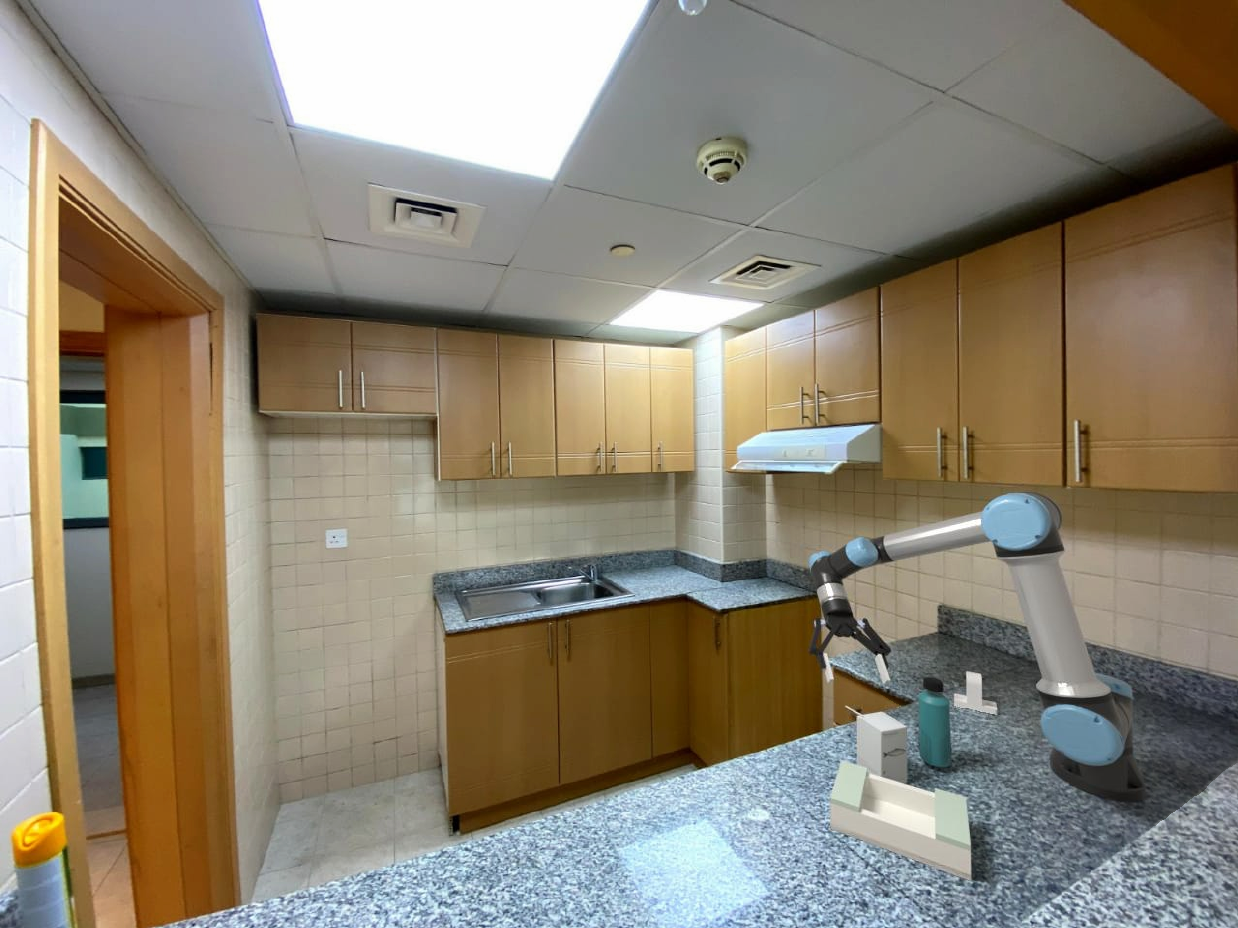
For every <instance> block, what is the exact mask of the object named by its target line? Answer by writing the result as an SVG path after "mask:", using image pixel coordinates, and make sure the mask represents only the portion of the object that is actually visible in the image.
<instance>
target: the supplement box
mask: <svg viewBox="0 0 1238 928" xmlns="http://www.w3.org/2000/svg"><path fill="white" fill-rule="evenodd" d="M856 765H859V766H862V767H866V768H867V773H870V774H873V775H877V776H880V777H883V778H887V779H890V780H893V781H897V782H900V783H903V784H907V783H908V726H907V725H905V724H903V723H902V722H900V721H899V720H897V719H895V718H893V717H892V716H890V715H888V714H887V713H885V712H884V711H878V712H873V713H872V712H871V713H866V714H865V713H864V714H859V715H856Z"/></svg>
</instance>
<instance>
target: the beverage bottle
mask: <svg viewBox="0 0 1238 928" xmlns="http://www.w3.org/2000/svg"><path fill="white" fill-rule="evenodd" d="M922 681H923V682H922V688H923V689H924V690H923V691H921V692H920V693H918V695H917V700H918V701H917V702H918V703H917V704H918V705H917V706H918V707H917V708H918V711H917V712H918V713H917V715H918V716H917V721H918V722H917V726H918V733H917V734H918V735H917V736H918V737H917V738H918V742H917V743H918V747H917V748H918V752H919V753H918V754H919V757H920V759H921V760H922V761H924V762H925V763H926V764H928V765H931V766H934V767H937V768H947V767H949V766H950V765H951V763H952V757H953V756H952V752H953V751H952V738H951V737H952V734H951V726H952V725H951V720H950V719H951V718H950V715H951V714H950V710H951V709H950V703H951V702H950V700H949V699H948V698H947V697H946V696H945V695H944V694H943V693H944V691H945V688H944V682H943V680H942V679H939V678H937V677H933V676H926V677H924V678H923V680H922Z"/></svg>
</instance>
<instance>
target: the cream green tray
mask: <svg viewBox="0 0 1238 928" xmlns="http://www.w3.org/2000/svg"><path fill="white" fill-rule="evenodd" d="M829 815H830V816H829V824H830V825H829V826H830V830H833V831H835V832H838V833H840V834H844V835H846V836H848V837H851V838H854V839H856V840H859V841H862V842H865V843H867V844H870V845H872V846H874V847H875V846H876V847H878V848H881V849H884V850H886V851H889V852H892V853H894V854H897V855H900V856H902V857H905V858H907V859H911V860H913V861H917V862H918V863H922V864H924V865H927V866H929V867H932V868H935V869H937V870H939V871H940V870H941V871H943V872H946V873H949V874H950V875H954V876H956V877H959V878H961V879H964V880H967V881H969V882H972V843H971V835H970V833H971V832H970V825H969V824H970V823H969V814H968V806H967V797H966V796H963V795H960V794H957V793H953V792H950V791H947V790H943V789H940V788H936V787H935V788H934V792H932V791H930V790H926V789H923V788H919V787H916V786H913V785H910V784H907V783H900V782H897V781H893V780H890V779H887V778H883V777H880V776H877V775H873V774H870V773H867V768H866V767H862V766H859V765H857V763H856V764H855V763H853V762H849V761H845V760H840V763H839V765H838V770H837V773H836V776H835V780H834V784H833V787H832V790H831V793H830V797H829Z"/></svg>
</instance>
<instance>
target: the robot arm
mask: <svg viewBox="0 0 1238 928" xmlns="http://www.w3.org/2000/svg"><path fill="white" fill-rule="evenodd" d="M1062 525H1063V513H1062V510H1061V508H1060V506H1059V505H1058V504H1057V502H1055V500H1053V499H1052V498H1050V497H1048V496H1047V495H1045V494H1042V493H1039V492H1034V491H1021V492H1013V493H1010V492H1009V493H1006V494H1004V495H1000V496H997V497H996V498H994V499H993V500H991V501H989V503H988V504H986V506H985V507H984V508H983V510H982V511H977V512H975V513H969V514H965V515H963V516H958V517H957V516H956V517H954V518H951V519H950V518H949V519H946V520H941V521H939V522H935V523H933V522H932V523H930V524H925V525H922V526H919V527H914V528H910V529H906V530H901V531H897V532H894V533H890V534H887V535H883V536H877V537H873V538H869V539H868V538H866V537H863V536H860V537H859V536H858V537H857V538H855V539H853V540H850V541H849V542H848V543H846V544H845V545H844V546H842V547H840V548H839V549H837V550H836V551H834V552H833V553H832V552H830V551H826V550H823V551H819V552H815V553H813V554H812V555H811V556H810V557H809V559H808V565H809V568H810V569H809V571H810V572H809V573H810V574H811V577H812V580H813V582H814V586H815V591H816V593H817V597H818V600H819V601H818V602H819V605H820V606H821V607H820V608H821V611H822V615H823V619H821V618H820V617H815V620H814V621H813V628H814V630H813V633H812V636H811V640H810V644H809V647H808V654H809V655H814V656H815V657H816V659H817V661H818V664H819V668H820V669H822V670H824V674H825V678H826V682H827V684H832V682H833V681H834V680H835V679H834V675H833V672H832V671H833V670H832V668H831V664H830V660H829V657H828V653H826V652H825V650H826V648H827V647H828V645H829V644H830V641H831V640H832V639H833V637H834V636H835V637H837V638H850V637H851V638H853V639H854V640H856V641H857V642H858V643H860V644H861V645H862V646H864V647H865V648H866V649H867V650H868V651H869V652H871V653H872V654H873V655H874V656H875V657H874V660H875V664H876V667H877V669H878V672H879V676H880V678H881V681H882V684H883V685H885V686H886V685H889V682H891V678H890V675H889V672H888V669H889V667H890V666H889V663H888V660H887V656H888V655H889V654H890V653H891V652H892V649H891V647H890V646H889V645H888V644H887V643H886V642H885V641H884V640H883V639H882V637H881V636H880V635H879V634H878V633H877V632H876V631H875V629H873V627H872V626H871V624H870V622H869V620H868V618H865V617H864V618H862V620H861V619H859V620H857V619H856V618H855V616H854V612H853V608H852V606H851V604H850V602H849V597H848V594H847V591H846V589H845V586H844V585H845V584H844V582H843V580H845V579H846V578H849V577H851V576H852V575H854V574H856V573H858V572H860V571H861V570H864V569H868V568H871V567H874V566H878V565H882V564H887V563H892V562H897V561H901V560H905V559H906V560H907V559H911V558H916V557H920V556H921V557H922V556H925V555H930V554H936V553H940V552H943V551H945V552H946V551H950V550H955V549H960V548H964V547H965V548H966V547H969V546H970V547H971V546H974V545H979V544H986V543H989V542H991V543H992V545H993V549H994V551H995V554H996V558H997V559H998V560H999V561H1002V562H1003V563H1004V564H1006V565H1007V566H1008V570H1009V573H1010V576H1011V579H1012V583H1013V585H1014V589H1015V592H1016V596H1017V598H1018V599H1017V600H1018V602H1019V606H1020V609H1021V613H1022V616H1023V619H1024V622H1025V625H1026V628H1027V632H1028V635H1029V638H1030V642H1031V645H1032V648H1033V652H1034V655H1035V658H1036V662H1037V664H1038V668H1039V671H1040V674H1041V678H1040V679H1039V680H1038V682H1037V683H1036V685H1035V689H1036V691H1037V694H1038V698H1039V701H1040V705H1041V708H1042V713H1041V715H1040V727H1041V731H1042V733H1043V736H1044V737H1045V738H1046V740H1047V742H1049V744H1050V745H1051V746H1052V747H1053V748H1052V750H1051V752H1050V754H1049V766H1050V769H1051V770H1052V772H1053V774H1055V775H1056V776H1057V777H1059V778H1060V779H1061V780H1062V781H1064V782H1065V783H1068V784H1069V785H1071V786H1073V787H1075V788H1077V789H1079V790H1082V791H1084V792H1086V793H1089V794H1092V795H1095V796H1098V797H1101V798H1105V799H1107V800H1108V799H1109V800H1113V801H1118V802H1125V803H1128V802H1129V803H1136V802H1141V801H1143V800H1144V799H1145V798H1146V794H1147V793H1146V792H1147V786H1146V781H1145V780H1144V777H1143V774H1142V772H1141V770H1140V767H1139V765H1138V762H1137V761H1136V758H1135V755H1134V729H1133V728H1134V722H1133V720H1134V715H1133V714H1134V712H1133V709H1134V708H1133V701H1134V700H1135V697H1134V696H1133V689H1132V687H1131V686H1130V684H1129V683H1127V682H1125V681H1124V680H1121V679H1119V678H1116V677H1113V676H1110V675H1106V674H1103V673H1098V672H1095V670H1094V665H1093V663H1092V660H1091V656H1090V653H1089V651H1088V647H1087V644H1086V641H1085V639H1084V635H1083V632H1082V629H1081V626H1080V623H1079V620H1078V617H1077V613H1076V611H1075V608H1074V605H1073V602H1072V599H1071V595H1070V591H1069V589H1068V586H1067V583H1066V580H1065V577H1064V574H1063V570H1062V568H1061V565H1060V558H1061V557H1062V556H1063V555H1064V554H1065V552H1066V550H1065V547H1064V543H1063V541H1062V537H1061V535H1060V532H1059V531H1060V529H1061V527H1062ZM823 627H825V628H826V629H827V630H829V632H828V634H827V635H826V636H825V638H824V640H823V641H822V643H821V645H820V646H819V648H817V645H818V641H819V637H820V633H821V630H822V628H823ZM858 627H859V628H858ZM862 631H863V632H862ZM824 652H825V653H824Z"/></svg>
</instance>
